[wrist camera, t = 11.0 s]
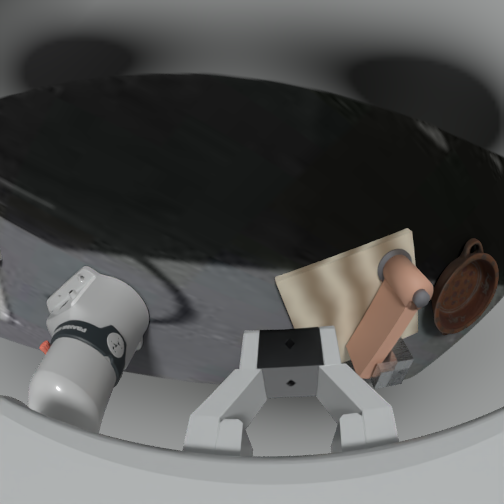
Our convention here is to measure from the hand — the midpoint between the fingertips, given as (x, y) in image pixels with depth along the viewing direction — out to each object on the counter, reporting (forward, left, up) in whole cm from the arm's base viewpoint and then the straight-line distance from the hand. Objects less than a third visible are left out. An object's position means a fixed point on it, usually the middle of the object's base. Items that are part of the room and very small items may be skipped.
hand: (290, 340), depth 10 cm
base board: (+8, -28, -32) cm, 43 cm away
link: (+11, -27, -30) cm, 42 cm away
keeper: (+10, -33, -30) cm, 46 cm away
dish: (+31, -33, -32) cm, 56 cm away
